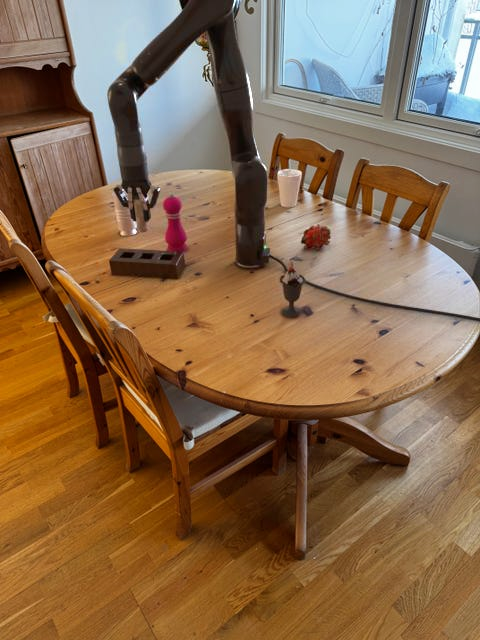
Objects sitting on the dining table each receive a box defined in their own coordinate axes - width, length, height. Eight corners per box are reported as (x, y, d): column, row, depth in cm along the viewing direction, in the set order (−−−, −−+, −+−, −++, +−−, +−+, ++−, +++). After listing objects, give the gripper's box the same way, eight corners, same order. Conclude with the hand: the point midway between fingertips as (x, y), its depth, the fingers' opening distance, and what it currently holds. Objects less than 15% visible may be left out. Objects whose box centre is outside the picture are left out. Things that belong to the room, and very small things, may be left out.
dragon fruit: (331, 248, 159) (303, 261, 156) (318, 228, 161) (290, 240, 158) (341, 235, 151) (311, 249, 148) (327, 214, 153) (297, 227, 150)
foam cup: (273, 202, 192) (274, 170, 185) (294, 199, 194) (295, 168, 187) (282, 210, 185) (283, 177, 177) (303, 207, 187) (305, 174, 180)
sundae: (287, 302, 129) (289, 254, 120) (308, 310, 125) (311, 261, 116) (273, 313, 124) (274, 263, 116) (294, 322, 121) (297, 271, 112)
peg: (149, 228, 139) (144, 192, 133) (146, 232, 137) (141, 196, 130) (139, 228, 140) (134, 192, 133) (135, 232, 137) (130, 196, 131)
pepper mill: (184, 255, 154) (178, 197, 143) (163, 254, 155) (156, 195, 144) (190, 246, 160) (185, 189, 148) (170, 244, 161) (163, 188, 150)
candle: (139, 234, 169) (133, 194, 160) (120, 237, 167) (113, 197, 158) (136, 227, 174) (129, 188, 166) (117, 230, 172) (110, 191, 164)
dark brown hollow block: (185, 265, 148) (183, 251, 145) (177, 279, 141) (176, 264, 138) (122, 262, 151) (119, 248, 148) (111, 275, 144) (108, 260, 141)
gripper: (102, 164, 125) (114, 224, 134) (153, 165, 123) (160, 227, 132) (113, 156, 131) (123, 214, 140) (161, 157, 129) (168, 216, 138)
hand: (141, 220), depth 136 cm, fingers closed on peg, 3 cm apart
